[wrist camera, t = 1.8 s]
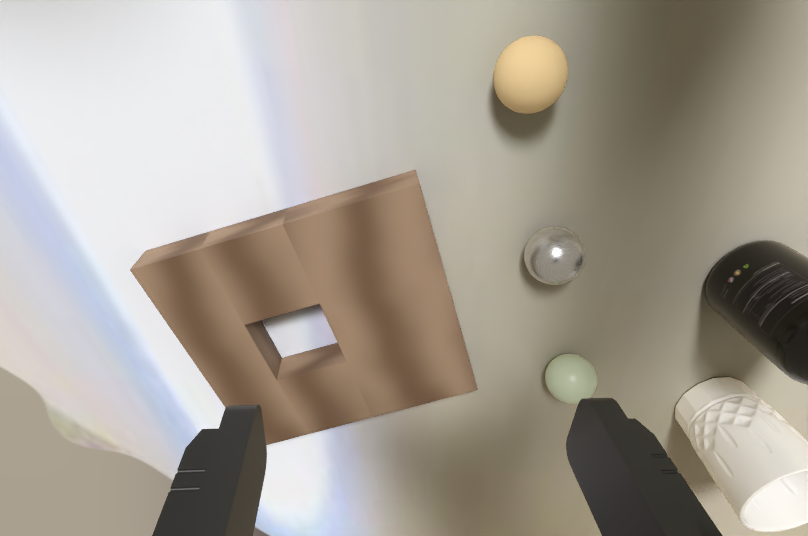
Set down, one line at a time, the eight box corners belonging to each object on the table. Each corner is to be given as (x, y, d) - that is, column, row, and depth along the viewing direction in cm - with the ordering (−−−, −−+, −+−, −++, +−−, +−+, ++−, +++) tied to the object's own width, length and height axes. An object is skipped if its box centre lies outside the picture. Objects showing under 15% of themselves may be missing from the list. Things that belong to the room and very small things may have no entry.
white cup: (770, 384, 43) (871, 481, 35) (710, 439, 47) (788, 539, 38) (707, 361, 41) (799, 458, 33) (650, 420, 45) (718, 522, 36)
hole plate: (415, 169, 30) (419, 183, 28) (471, 368, 39) (477, 389, 37) (145, 251, 32) (129, 269, 30) (259, 424, 41) (253, 448, 39)
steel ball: (569, 210, 33) (593, 235, 29) (574, 257, 35) (597, 286, 31) (513, 226, 33) (530, 253, 30) (521, 272, 35) (538, 303, 32)
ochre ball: (548, 23, 27) (576, 28, 23) (556, 94, 29) (583, 108, 25) (480, 45, 27) (497, 53, 24) (492, 113, 29) (510, 130, 26)
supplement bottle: (808, 260, 36) (983, 365, 26) (738, 322, 39) (872, 441, 29) (752, 221, 34) (920, 320, 24) (682, 290, 37) (806, 406, 27)
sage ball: (583, 338, 39) (604, 371, 35) (586, 372, 41) (607, 407, 37) (535, 350, 39) (552, 385, 36) (541, 384, 41) (557, 420, 38)
